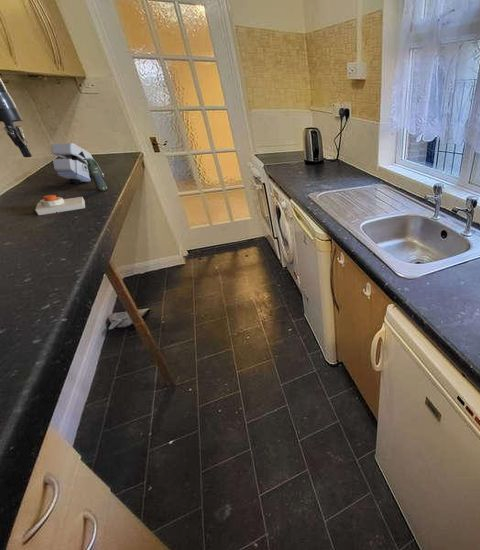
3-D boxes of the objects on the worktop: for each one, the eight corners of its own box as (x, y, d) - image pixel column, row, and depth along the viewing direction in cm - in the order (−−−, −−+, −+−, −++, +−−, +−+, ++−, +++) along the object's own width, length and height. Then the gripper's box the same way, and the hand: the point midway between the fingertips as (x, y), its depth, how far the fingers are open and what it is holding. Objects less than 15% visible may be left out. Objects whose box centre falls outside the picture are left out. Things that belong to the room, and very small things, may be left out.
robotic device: (105, 192, 166) (103, 157, 167) (73, 177, 145) (71, 138, 146) (84, 193, 164) (83, 158, 165) (49, 178, 143) (47, 138, 144)
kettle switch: (45, 202, 116) (42, 198, 116) (45, 200, 119) (43, 195, 118) (57, 200, 118) (55, 196, 118) (58, 198, 121) (55, 194, 120)
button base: (38, 215, 114) (32, 205, 112) (40, 207, 121) (35, 198, 119) (85, 208, 122) (80, 198, 120) (84, 201, 129) (80, 192, 127)
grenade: (102, 192, 142) (87, 159, 134) (95, 191, 142) (80, 158, 135) (111, 189, 145) (97, 157, 138) (104, 189, 146) (89, 156, 138)
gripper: (-10, 105, 109) (17, 155, 118) (-19, 107, 101) (11, 160, 110) (19, 105, 113) (43, 153, 122) (13, 107, 105) (39, 158, 114)
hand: (28, 156), depth 116 cm, fingers closed
